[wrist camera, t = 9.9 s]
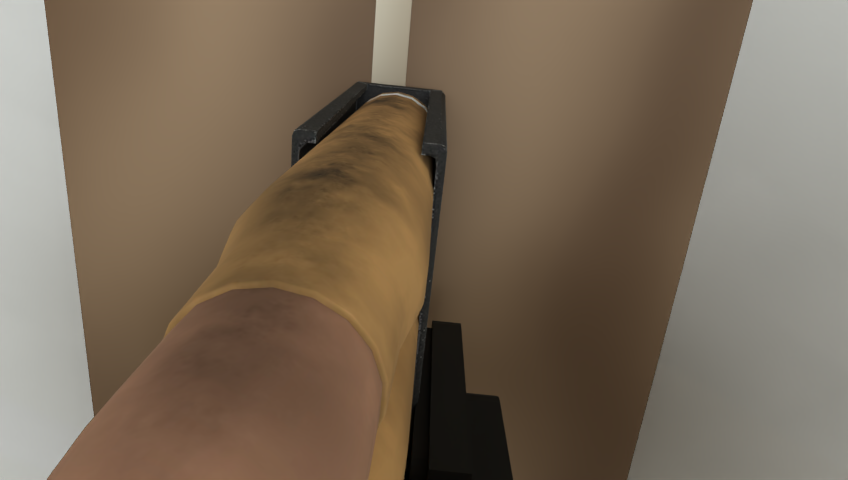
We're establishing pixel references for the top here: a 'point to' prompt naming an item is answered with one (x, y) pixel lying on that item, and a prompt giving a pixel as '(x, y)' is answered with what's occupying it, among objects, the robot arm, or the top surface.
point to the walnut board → (463, 183)
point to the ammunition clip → (298, 317)
